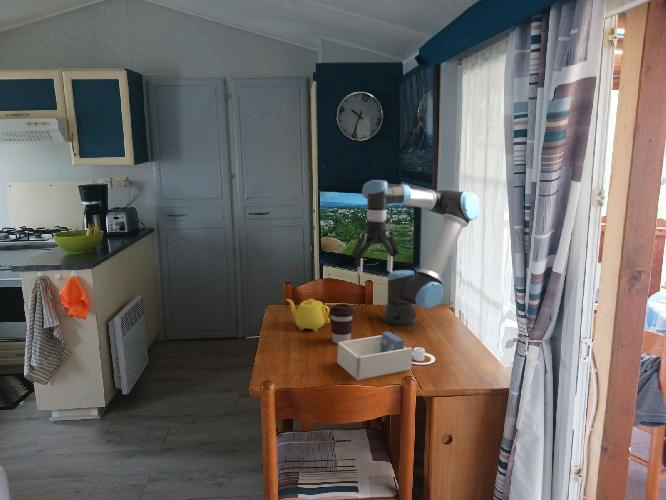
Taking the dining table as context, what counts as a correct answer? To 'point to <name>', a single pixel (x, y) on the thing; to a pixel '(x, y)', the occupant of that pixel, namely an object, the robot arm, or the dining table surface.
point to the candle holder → (421, 356)
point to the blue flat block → (391, 342)
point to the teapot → (310, 314)
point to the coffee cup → (341, 322)
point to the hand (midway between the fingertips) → (375, 273)
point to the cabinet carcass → (371, 358)
